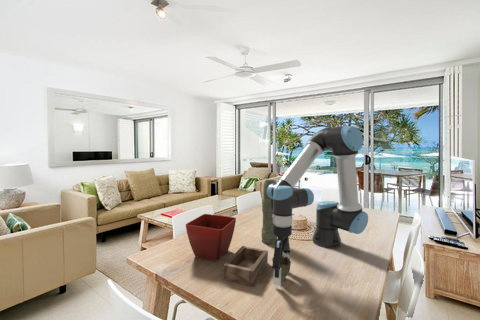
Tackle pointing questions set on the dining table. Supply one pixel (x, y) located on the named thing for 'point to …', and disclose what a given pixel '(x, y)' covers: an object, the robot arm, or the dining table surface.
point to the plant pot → (210, 235)
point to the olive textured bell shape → (284, 267)
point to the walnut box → (246, 265)
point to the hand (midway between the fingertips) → (281, 275)
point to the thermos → (267, 216)
